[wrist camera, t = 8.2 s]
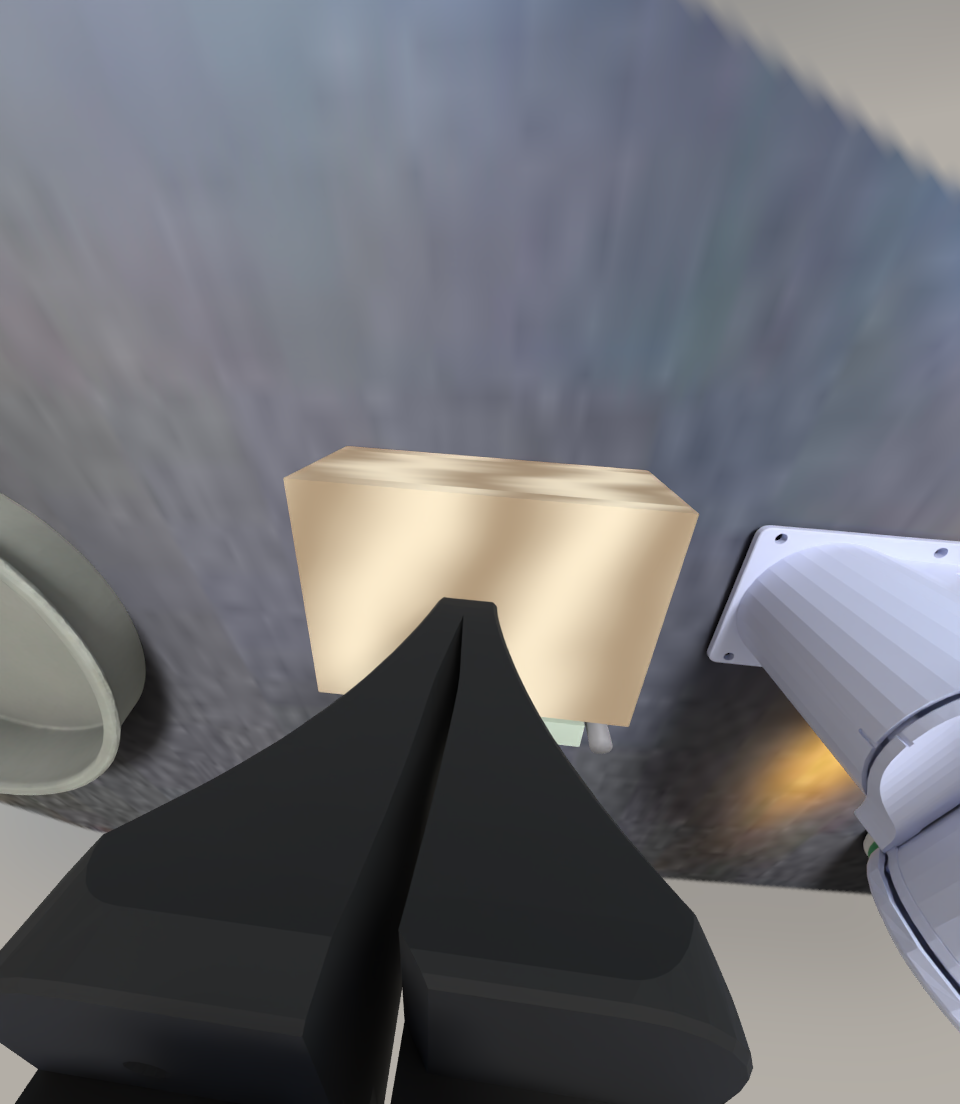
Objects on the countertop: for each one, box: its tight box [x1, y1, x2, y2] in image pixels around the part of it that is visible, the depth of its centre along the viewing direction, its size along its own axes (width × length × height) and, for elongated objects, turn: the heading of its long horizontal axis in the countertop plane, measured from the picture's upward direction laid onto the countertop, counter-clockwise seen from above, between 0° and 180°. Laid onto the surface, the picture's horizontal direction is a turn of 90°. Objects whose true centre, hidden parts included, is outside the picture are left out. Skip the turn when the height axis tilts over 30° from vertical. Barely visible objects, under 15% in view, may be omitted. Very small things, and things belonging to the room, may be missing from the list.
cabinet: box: [283, 446, 699, 727], centre depth 18 cm, size 14×10×6 cm
